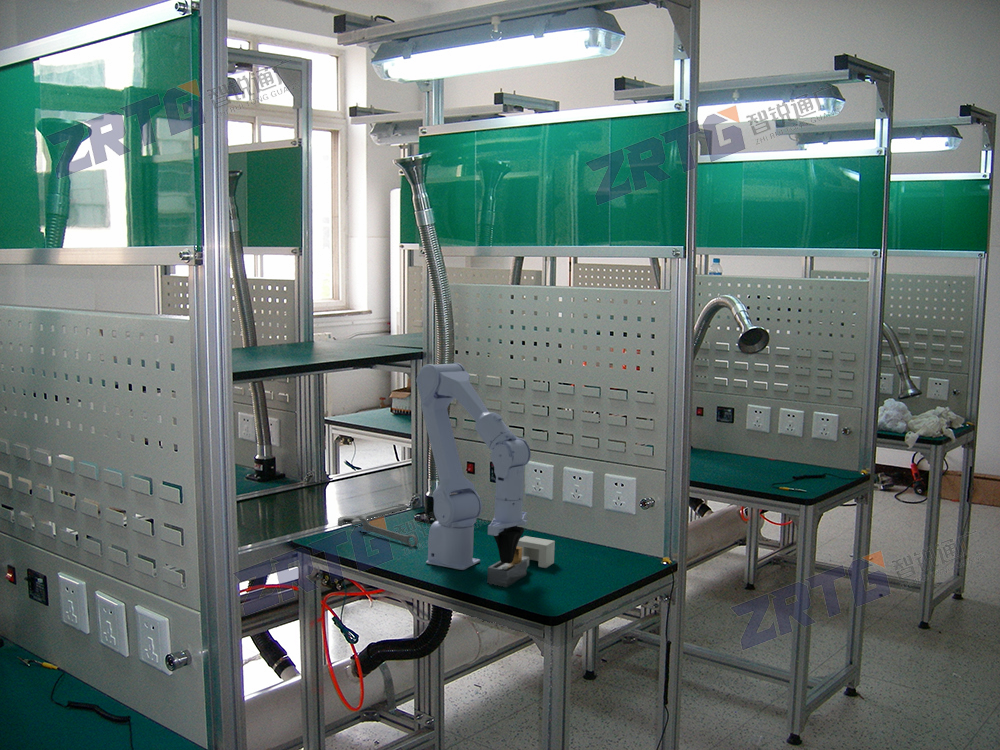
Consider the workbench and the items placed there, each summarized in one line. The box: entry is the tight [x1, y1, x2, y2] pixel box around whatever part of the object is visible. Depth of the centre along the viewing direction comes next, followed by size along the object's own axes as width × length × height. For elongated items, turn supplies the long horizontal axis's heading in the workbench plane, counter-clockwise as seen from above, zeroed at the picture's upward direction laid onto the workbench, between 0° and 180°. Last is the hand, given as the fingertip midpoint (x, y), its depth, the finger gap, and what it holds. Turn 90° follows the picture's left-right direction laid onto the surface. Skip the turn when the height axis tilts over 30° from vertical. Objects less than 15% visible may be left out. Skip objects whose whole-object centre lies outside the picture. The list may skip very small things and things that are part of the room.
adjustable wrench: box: [337, 503, 407, 526], centre depth 239 cm, size 25×6×2 cm, turn 144°
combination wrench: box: [357, 518, 419, 548], centre depth 219 cm, size 4×1×20 cm
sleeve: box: [486, 559, 528, 588], centre depth 191 cm, size 4×10×3 cm, turn 154°
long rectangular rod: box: [498, 546, 530, 570], centre depth 193 cm, size 2×12×5 cm, turn 153°
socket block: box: [517, 535, 556, 569], centre depth 203 cm, size 7×4×5 cm, turn 64°
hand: (506, 562), depth 190 cm, fingers closed
